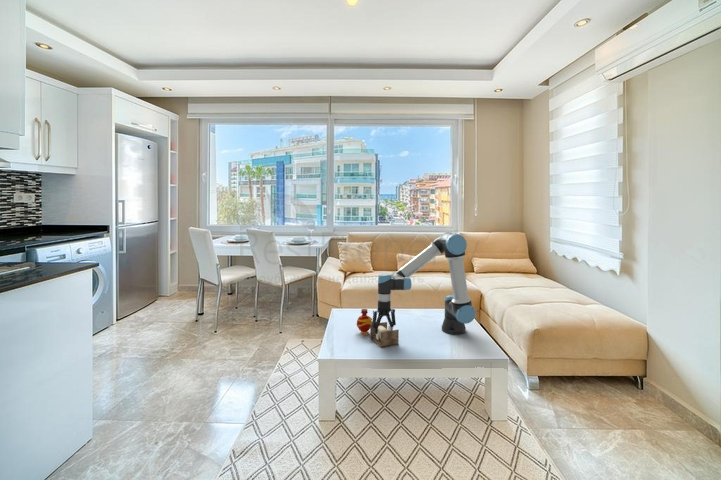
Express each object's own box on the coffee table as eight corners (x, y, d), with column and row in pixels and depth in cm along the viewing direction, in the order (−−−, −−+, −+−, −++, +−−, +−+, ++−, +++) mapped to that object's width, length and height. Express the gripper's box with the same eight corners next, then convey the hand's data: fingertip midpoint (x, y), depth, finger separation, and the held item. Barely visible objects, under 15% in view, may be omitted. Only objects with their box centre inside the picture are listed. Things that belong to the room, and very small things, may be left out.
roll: (384, 336, 212) (385, 325, 212) (392, 343, 202) (394, 331, 201) (373, 336, 210) (375, 325, 209) (382, 343, 199) (383, 331, 199)
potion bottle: (358, 336, 214) (358, 312, 213) (355, 330, 225) (355, 307, 223) (374, 335, 216) (374, 311, 215) (370, 329, 227) (370, 307, 225)
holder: (386, 335, 215) (386, 321, 214) (398, 345, 201) (398, 329, 200) (370, 338, 211) (370, 324, 210) (381, 347, 197) (381, 332, 196)
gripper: (396, 297, 211) (395, 333, 213) (365, 300, 203) (365, 338, 205) (402, 300, 204) (401, 337, 206) (371, 303, 196) (370, 342, 198)
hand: (383, 337), depth 205 cm, fingers open, 7 cm apart
